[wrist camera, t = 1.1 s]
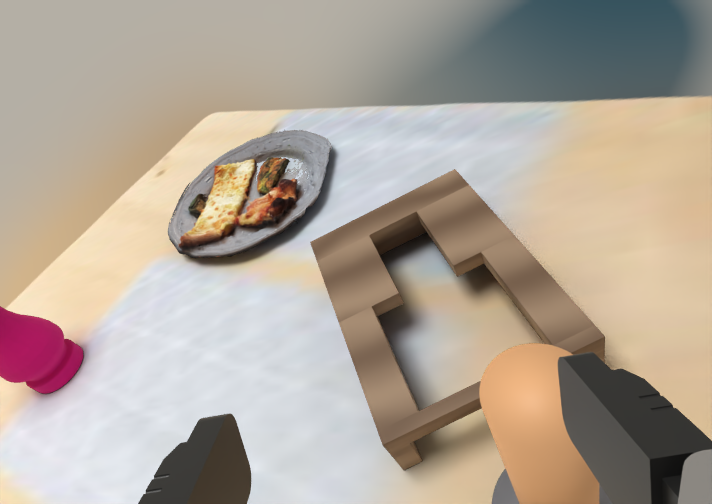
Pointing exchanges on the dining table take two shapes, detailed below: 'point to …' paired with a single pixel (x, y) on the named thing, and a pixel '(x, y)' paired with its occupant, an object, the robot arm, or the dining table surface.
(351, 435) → the dining table surface
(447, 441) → the dining table surface
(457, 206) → the keyhole base
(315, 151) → the food plate
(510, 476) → the peg
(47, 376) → the pepper mill
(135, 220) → the dining table surface
